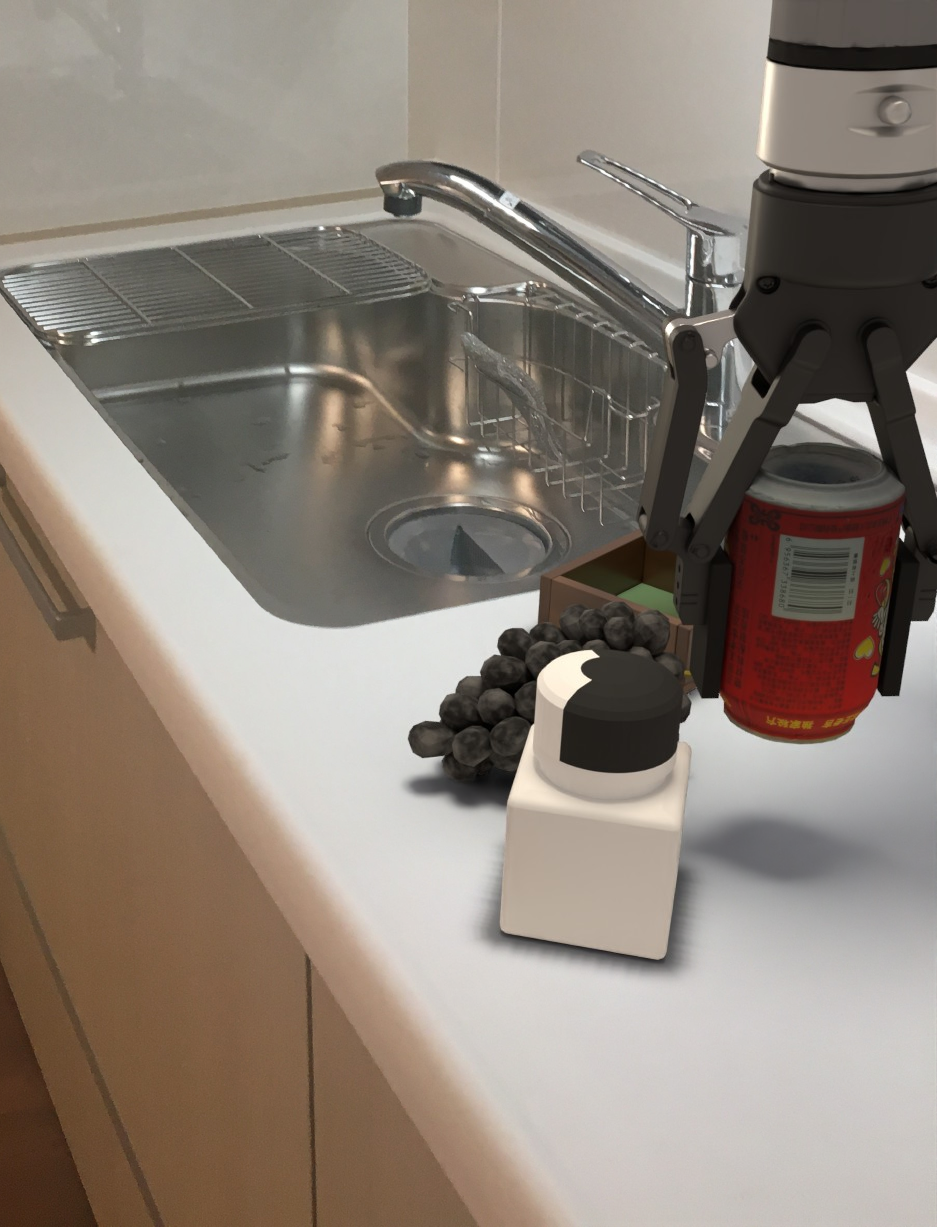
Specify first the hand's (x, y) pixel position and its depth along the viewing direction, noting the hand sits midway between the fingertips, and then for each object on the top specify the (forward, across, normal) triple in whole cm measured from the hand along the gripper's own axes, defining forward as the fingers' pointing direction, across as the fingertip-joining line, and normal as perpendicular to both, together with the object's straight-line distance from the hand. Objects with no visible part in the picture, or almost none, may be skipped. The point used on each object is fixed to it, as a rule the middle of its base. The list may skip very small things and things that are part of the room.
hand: (792, 682), depth 76 cm
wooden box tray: (+9, -1, +22) cm, 24 cm away
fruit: (+9, -10, +8) cm, 15 cm away
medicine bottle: (+9, -9, -5) cm, 14 cm away
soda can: (+2, 0, 0) cm, 2 cm away
